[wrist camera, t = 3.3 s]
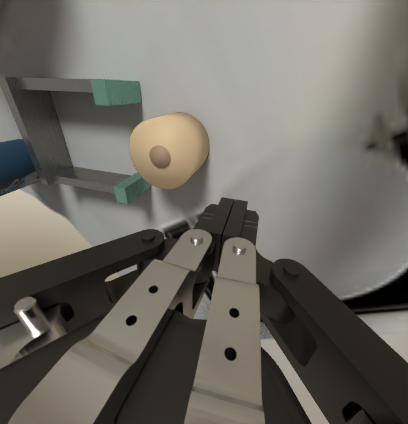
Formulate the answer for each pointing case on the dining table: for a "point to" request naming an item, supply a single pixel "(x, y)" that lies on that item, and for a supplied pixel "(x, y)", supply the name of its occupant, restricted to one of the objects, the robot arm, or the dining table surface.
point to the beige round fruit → (169, 149)
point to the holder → (53, 138)
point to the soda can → (15, 166)
